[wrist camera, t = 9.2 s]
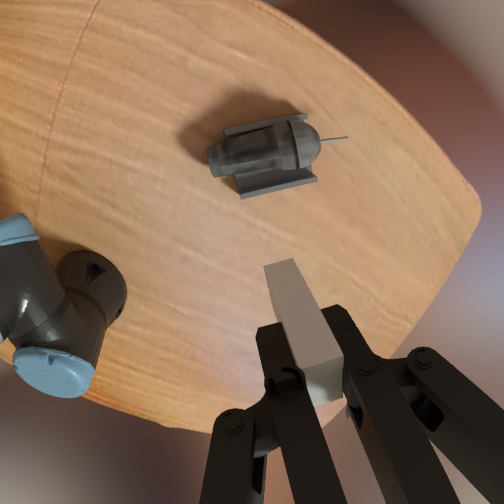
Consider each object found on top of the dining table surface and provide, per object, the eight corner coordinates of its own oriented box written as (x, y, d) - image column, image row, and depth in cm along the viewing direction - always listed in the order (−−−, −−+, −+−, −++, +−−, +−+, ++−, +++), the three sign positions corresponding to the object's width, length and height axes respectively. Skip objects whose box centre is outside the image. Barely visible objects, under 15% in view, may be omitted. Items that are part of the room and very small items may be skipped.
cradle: (239, 194, 46) (241, 199, 44) (223, 129, 41) (224, 130, 39) (312, 177, 46) (317, 181, 44) (301, 113, 41) (306, 113, 39)
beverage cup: (200, 132, 37) (348, 104, 34) (212, 144, 44) (338, 120, 42) (210, 184, 37) (362, 155, 35) (221, 189, 45) (349, 164, 42)
